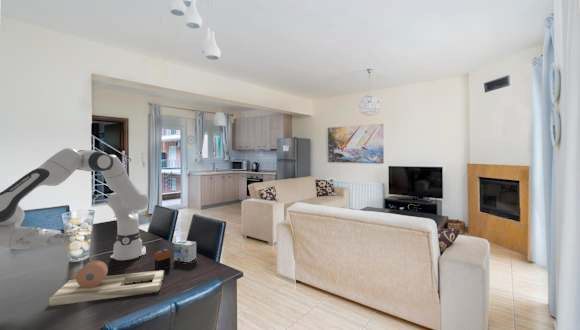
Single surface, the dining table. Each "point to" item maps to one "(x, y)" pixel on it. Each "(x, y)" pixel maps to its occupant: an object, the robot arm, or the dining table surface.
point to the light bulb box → (185, 251)
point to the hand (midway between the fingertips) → (67, 238)
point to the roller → (92, 274)
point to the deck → (108, 288)
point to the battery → (162, 259)
